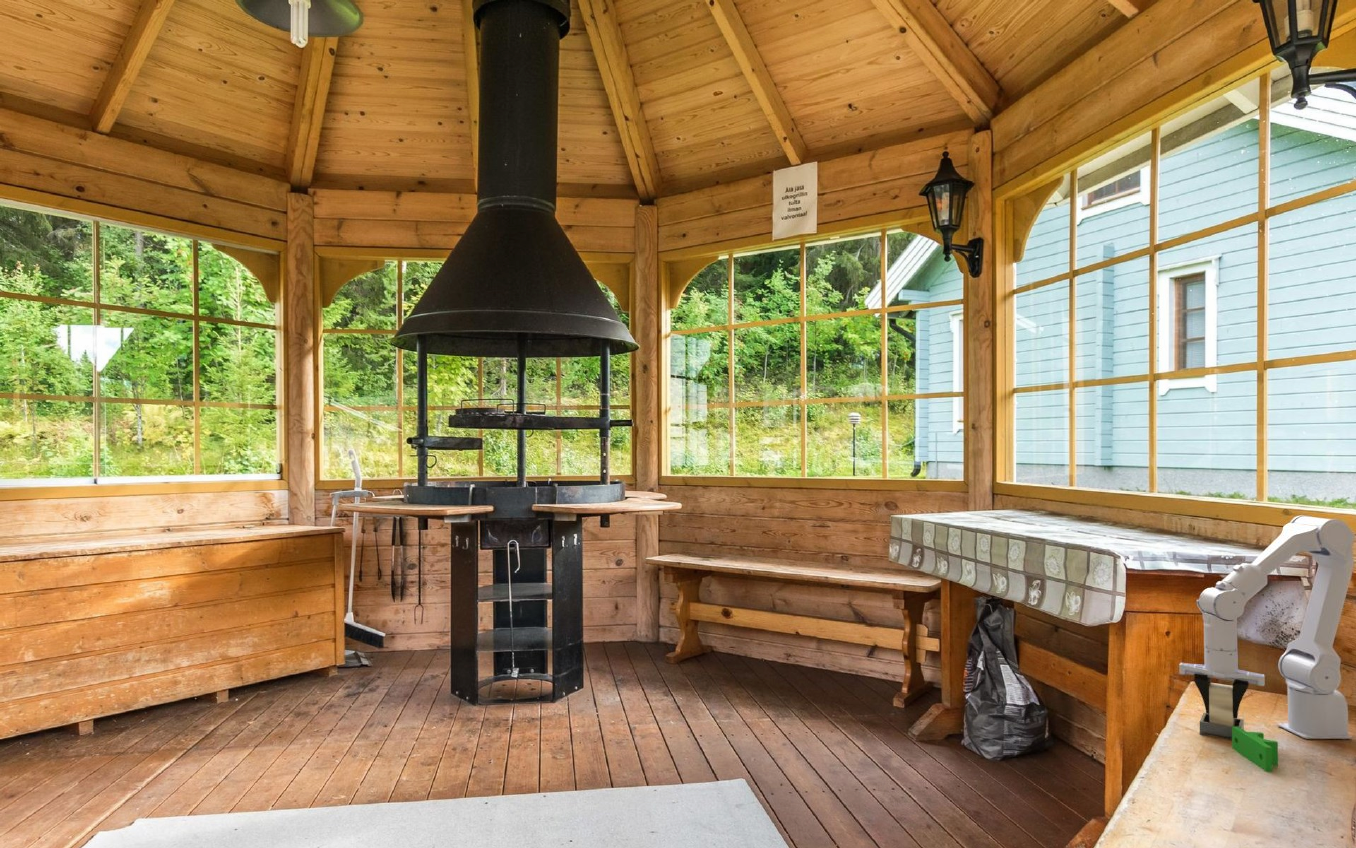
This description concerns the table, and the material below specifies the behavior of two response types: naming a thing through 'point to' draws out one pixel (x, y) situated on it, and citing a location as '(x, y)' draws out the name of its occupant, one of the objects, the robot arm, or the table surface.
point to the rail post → (1221, 704)
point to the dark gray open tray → (1218, 727)
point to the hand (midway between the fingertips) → (1221, 714)
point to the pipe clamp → (1255, 748)
